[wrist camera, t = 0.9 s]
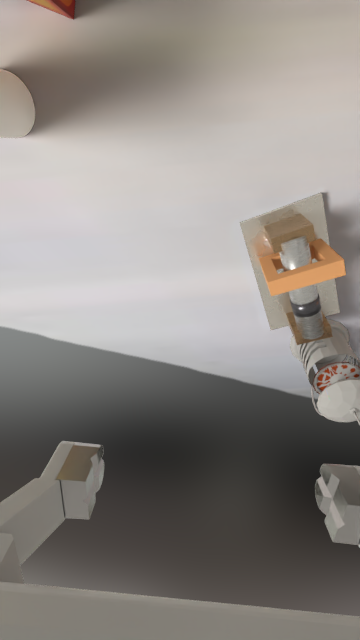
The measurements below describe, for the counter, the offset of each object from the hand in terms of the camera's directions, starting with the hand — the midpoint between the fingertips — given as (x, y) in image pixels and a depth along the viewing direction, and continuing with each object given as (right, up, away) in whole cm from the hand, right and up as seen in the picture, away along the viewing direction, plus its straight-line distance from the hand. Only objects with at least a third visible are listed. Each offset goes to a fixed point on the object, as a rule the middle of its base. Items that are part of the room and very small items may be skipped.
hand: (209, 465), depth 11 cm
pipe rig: (+16, +13, +34) cm, 40 cm away
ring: (+15, +15, +31) cm, 38 cm away
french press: (+23, +1, +41) cm, 47 cm away
